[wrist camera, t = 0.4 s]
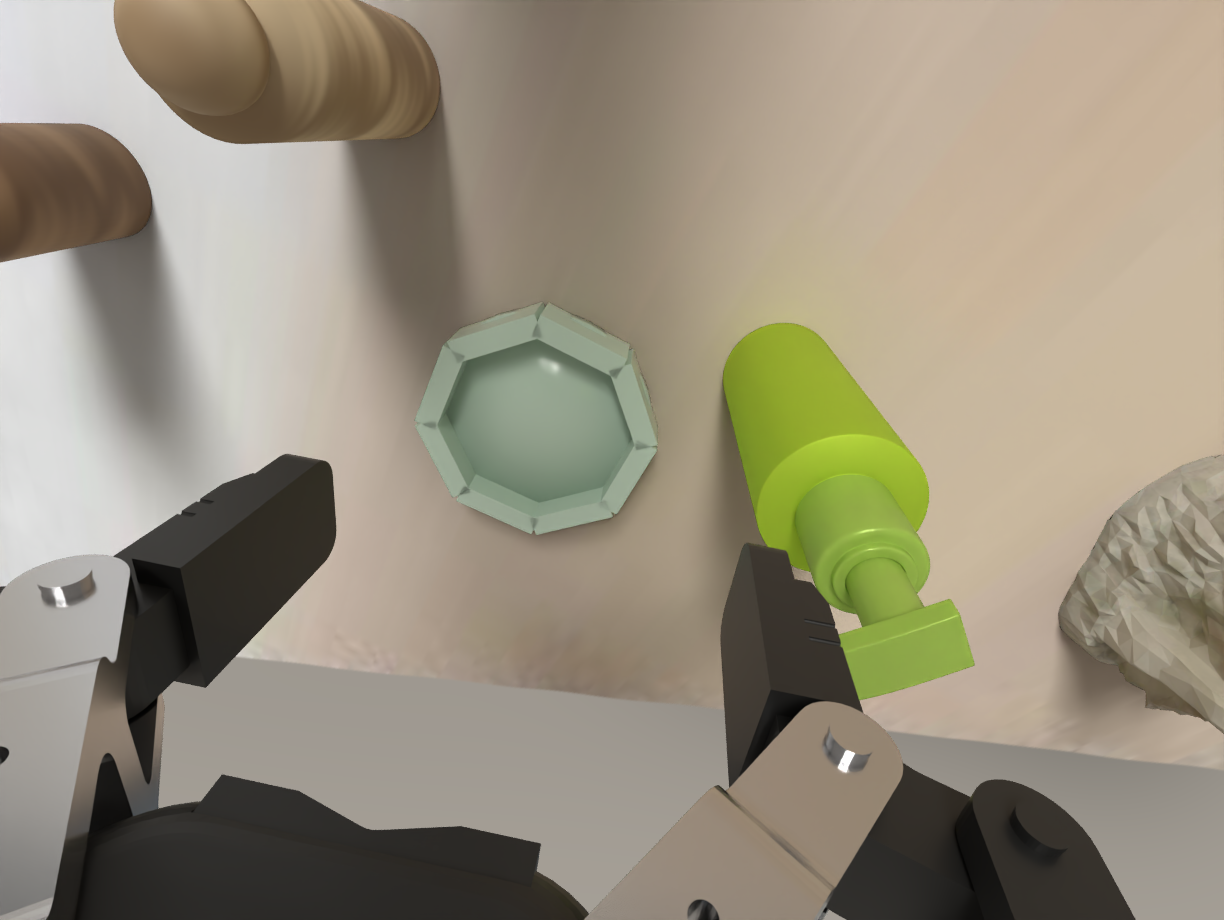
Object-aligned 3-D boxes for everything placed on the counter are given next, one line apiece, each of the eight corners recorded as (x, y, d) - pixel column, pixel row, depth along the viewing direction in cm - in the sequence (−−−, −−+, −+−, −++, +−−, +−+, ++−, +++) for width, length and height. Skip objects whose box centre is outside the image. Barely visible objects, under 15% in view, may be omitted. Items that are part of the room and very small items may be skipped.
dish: (480, 264, 31) (467, 274, 29) (693, 375, 33) (695, 392, 31) (407, 454, 37) (392, 473, 34) (592, 538, 39) (588, 561, 37)
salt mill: (349, -11, 26) (47, -148, 13) (454, 49, 26) (266, -25, 14) (323, 105, 28) (43, 85, 15) (421, 158, 29) (231, 180, 16)
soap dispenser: (688, 358, 32) (722, 625, 15) (814, 304, 31) (1020, 536, 13) (727, 446, 35) (796, 765, 17) (847, 401, 33) (1058, 706, 16)
